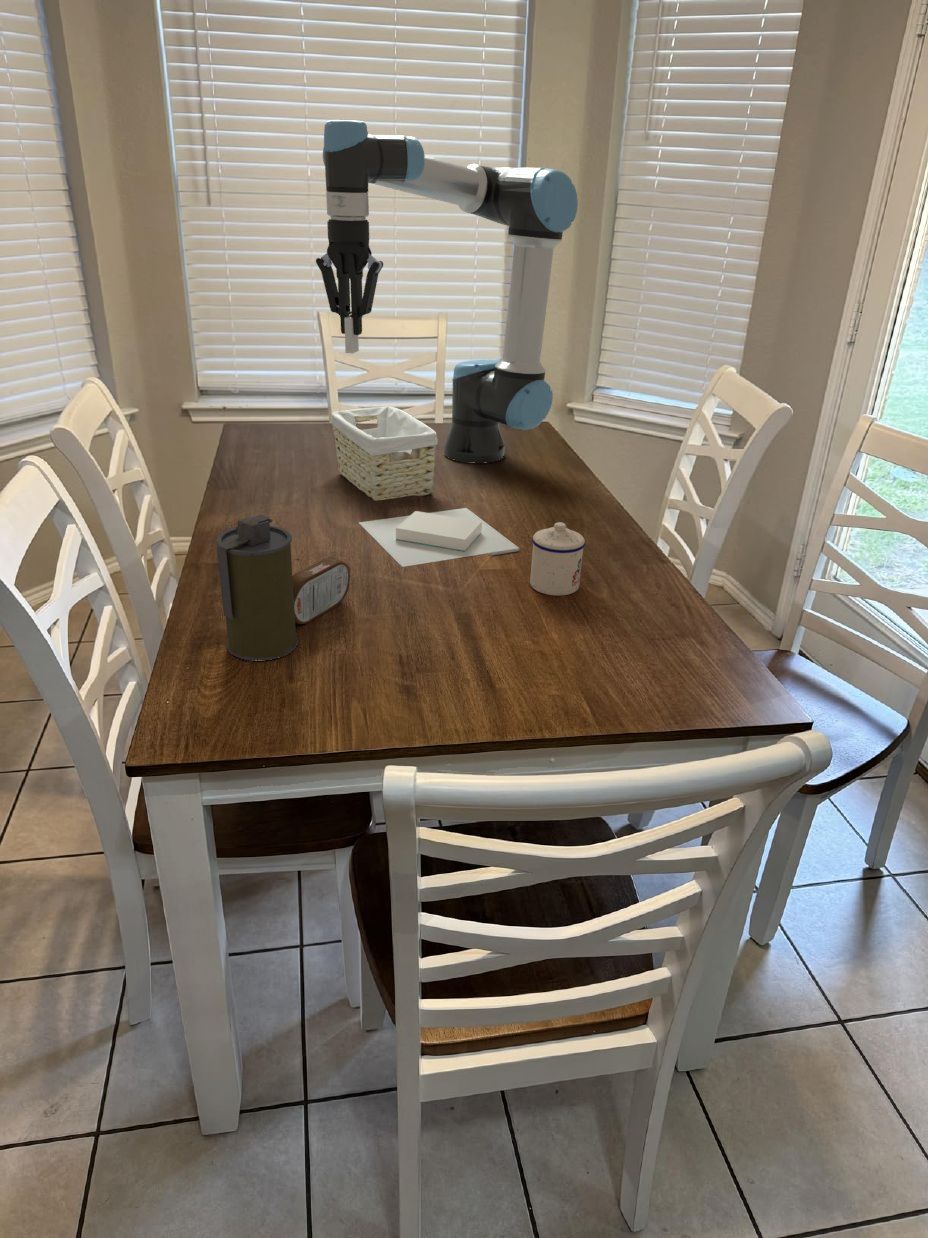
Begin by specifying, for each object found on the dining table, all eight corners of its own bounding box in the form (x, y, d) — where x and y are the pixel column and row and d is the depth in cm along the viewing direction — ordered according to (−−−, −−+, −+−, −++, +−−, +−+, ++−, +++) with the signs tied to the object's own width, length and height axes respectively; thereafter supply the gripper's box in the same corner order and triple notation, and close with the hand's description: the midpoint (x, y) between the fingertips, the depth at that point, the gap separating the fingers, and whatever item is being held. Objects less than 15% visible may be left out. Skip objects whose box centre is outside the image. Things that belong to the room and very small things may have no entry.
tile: (395, 527, 168) (465, 539, 164) (415, 510, 176) (481, 521, 172) (395, 540, 169) (464, 551, 165) (415, 522, 177) (481, 533, 173)
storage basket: (439, 497, 193) (441, 430, 186) (371, 507, 186) (370, 438, 179) (394, 465, 212) (394, 404, 205) (330, 473, 204) (328, 410, 198)
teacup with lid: (583, 598, 151) (590, 534, 145) (530, 596, 151) (535, 533, 145) (575, 569, 161) (581, 509, 156) (526, 567, 161) (530, 507, 156)
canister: (267, 621, 139) (258, 502, 130) (312, 644, 133) (306, 520, 124) (210, 646, 131) (196, 521, 122) (255, 671, 126) (244, 541, 116)
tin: (339, 594, 149) (337, 548, 145) (354, 598, 147) (353, 552, 144) (279, 629, 137) (275, 580, 133) (294, 634, 136) (291, 585, 132)
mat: (466, 510, 186) (466, 507, 186) (518, 550, 168) (519, 548, 168) (358, 525, 176) (358, 522, 176) (402, 569, 158) (402, 566, 158)
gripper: (305, 217, 158) (312, 352, 169) (372, 221, 154) (374, 358, 165) (325, 215, 164) (330, 345, 175) (389, 218, 160) (390, 351, 171)
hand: (352, 351), depth 170 cm, fingers closed
